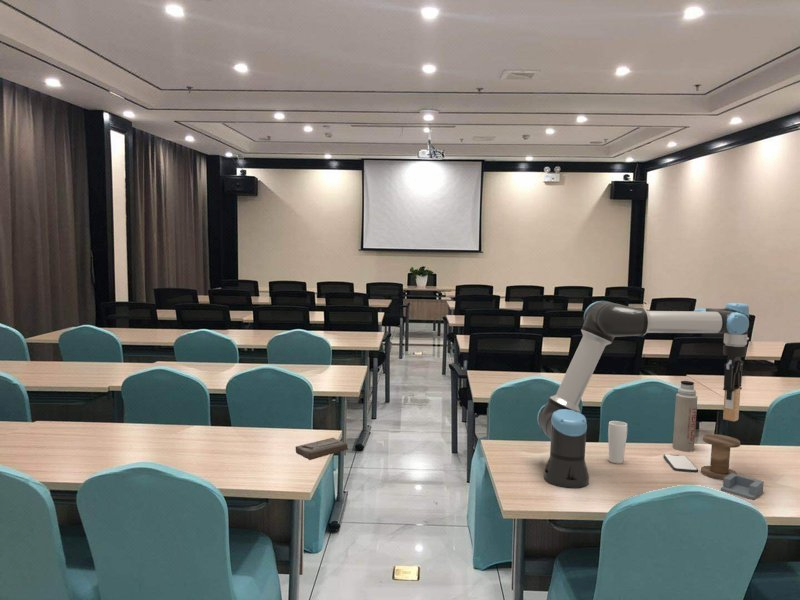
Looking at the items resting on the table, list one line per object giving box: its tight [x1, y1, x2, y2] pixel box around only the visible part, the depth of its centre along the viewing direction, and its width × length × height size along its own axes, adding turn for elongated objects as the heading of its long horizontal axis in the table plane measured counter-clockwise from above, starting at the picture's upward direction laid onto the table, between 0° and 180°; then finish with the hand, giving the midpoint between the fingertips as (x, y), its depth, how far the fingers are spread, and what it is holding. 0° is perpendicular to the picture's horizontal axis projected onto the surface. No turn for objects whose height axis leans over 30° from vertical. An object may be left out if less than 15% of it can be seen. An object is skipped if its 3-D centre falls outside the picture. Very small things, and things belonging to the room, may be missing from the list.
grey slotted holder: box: [720, 473, 765, 500], centre depth 203 cm, size 10×10×4 cm
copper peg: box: [722, 387, 741, 422], centre depth 224 cm, size 4×4×12 cm
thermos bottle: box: [672, 380, 698, 453], centre depth 247 cm, size 8×8×28 cm
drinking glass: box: [607, 420, 628, 465], centre depth 229 cm, size 7×7×15 cm
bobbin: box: [700, 433, 741, 481], centre depth 218 cm, size 12×12×13 cm
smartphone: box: [662, 453, 699, 474], centre depth 229 cm, size 9×2×16 cm
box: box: [294, 437, 349, 461], centre depth 231 cm, size 11×17×3 cm, turn 130°
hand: (731, 407), depth 224 cm, fingers closed on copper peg, 4 cm apart
